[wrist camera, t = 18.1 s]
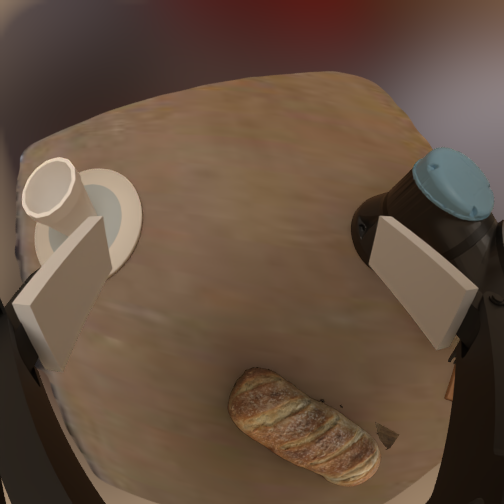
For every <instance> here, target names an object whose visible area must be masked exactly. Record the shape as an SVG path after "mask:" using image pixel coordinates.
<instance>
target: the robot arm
mask: <svg viewBox="0 0 504 504" xmlns="http://www.w3.org/2000/svg"><path fill="white" fill-rule="evenodd" d="M489 187H490V184H489V182H488V180H487V178H486V177H485V175H484V174H483V172H482V171H481V170H480V169H479V167H478V166H477V165H476V164H475V163H474V162H473V161H472V160H471V159H469V158H468V157H467V156H465V155H464V154H462V153H461V152H459V151H455V150H453V149H451V148H445V147H441V148H436V149H434V150H432V151H430V152H429V153H428V154H427V155H426V156H425V157H424V158H422V159H420V160H418V161H417V162H416V163H415V164H414V167H413V169H412V170H411V171H410V172H409V173H408V174H407V175H406V176H405V177H404V178H402V179H401V180H400V181H399V182H398V183H397V184H396V185H395V186H394V187H393V188H392V189H391V190H390V191H389V192H387V193H383V194H380V195H377V196H374V197H371V198H369V199H368V200H366V201H365V202H364V203H363V204H362V205H361V206H360V207H359V208H358V209H357V210H356V212H355V214H354V216H353V219H352V225H351V232H352V239H353V243H354V245H355V248H356V250H357V252H358V254H359V255H360V257H361V258H362V260H363V261H364V262H365V263H366V264H367V265H368V266H369V267H370V268H372V269H373V270H374V271H375V273H376V274H377V275H378V276H379V277H380V279H381V280H382V281H383V282H384V283H385V285H386V286H387V287H388V288H389V289H390V291H391V292H392V293H393V294H394V296H395V297H396V298H397V299H398V301H399V302H400V303H401V304H402V306H403V307H404V308H405V309H406V311H407V312H408V313H409V314H410V316H411V317H412V318H413V320H414V321H415V322H416V324H417V325H418V326H419V327H420V329H421V330H422V331H423V333H424V334H425V335H426V337H427V338H428V340H429V341H430V342H431V344H432V345H433V346H434V348H435V349H436V350H440V349H443V348H447V347H449V346H450V345H451V343H452V341H453V339H454V337H455V336H456V335H457V336H458V337H459V338H460V341H459V343H458V344H457V346H456V348H455V349H454V351H453V353H452V354H451V356H450V358H449V360H448V362H451V360H452V359H453V358H454V357H456V360H455V361H454V364H456V366H455V380H454V391H453V400H452V408H451V415H450V422H449V428H448V433H447V439H446V444H445V448H444V453H443V457H442V462H441V466H440V470H439V473H438V477H437V480H436V484H435V487H434V490H433V493H432V496H431V498H430V499H429V500H428V501H427V503H426V504H504V220H502V221H501V222H499V223H498V222H497V221H496V219H495V218H494V216H493V214H492V213H491V211H492V209H493V207H494V196H493V192H492V190H491V189H490V188H489ZM111 271H112V264H111V259H110V254H109V248H108V243H107V237H106V231H105V225H104V218H103V216H92V217H88V218H87V219H86V220H85V221H84V222H83V223H82V224H81V225H80V226H79V227H78V228H77V229H76V230H75V231H74V232H73V233H72V234H71V235H70V236H69V237H68V238H67V239H66V240H65V241H64V242H63V243H62V245H61V246H60V247H59V248H58V249H57V250H56V251H55V252H54V253H53V254H52V255H51V257H50V258H49V259H48V260H47V261H46V262H45V263H44V264H43V266H42V267H41V268H39V269H38V270H36V271H35V272H34V273H32V274H31V275H30V276H29V277H28V278H27V280H26V281H25V284H22V286H21V287H20V288H19V290H18V291H17V292H16V293H15V294H14V296H13V297H12V299H11V300H10V301H9V302H8V303H7V305H6V306H5V307H4V306H3V304H2V301H1V299H0V504H6V501H5V497H4V492H3V486H2V481H3V484H4V486H5V489H6V491H7V494H8V497H9V499H10V501H11V504H106V503H105V502H104V501H103V499H102V498H101V497H100V495H99V493H98V492H97V491H96V489H95V487H94V486H93V484H92V483H91V481H90V480H89V478H88V477H87V475H86V473H85V472H84V470H83V468H82V467H81V465H80V463H79V462H78V460H77V458H76V456H75V454H74V453H73V451H72V449H71V447H70V445H69V443H68V441H67V439H66V437H65V435H64V433H63V431H62V429H61V427H60V424H59V422H58V420H57V418H56V416H55V413H54V411H53V409H52V406H51V404H50V401H49V399H48V396H47V394H46V391H45V389H44V386H43V383H42V381H41V378H40V375H39V372H38V370H37V369H36V367H35V366H34V365H35V363H36V361H37V359H38V357H39V359H40V361H41V363H42V364H43V366H44V368H45V369H46V370H51V371H57V372H62V373H63V371H64V369H65V366H66V364H67V362H68V359H69V357H70V354H71V352H72V350H73V348H74V345H75V343H76V341H77V339H78V336H79V334H80V332H81V330H82V328H83V325H84V323H85V321H86V319H87V317H88V315H89V313H90V311H91V309H92V307H93V305H94V303H95V301H96V299H97V297H98V295H99V293H100V291H101V289H102V287H103V285H104V284H105V282H106V280H107V278H108V276H109V274H110V272H111ZM1 478H2V481H1Z"/></svg>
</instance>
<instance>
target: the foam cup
mask: <svg viewBox="0 0 504 504" xmlns="http://www.w3.org/2000/svg"><path fill="white" fill-rule="evenodd" d="M22 206H23V208H24V209H25V211H26V213H27V215H29V216H30V217H31V218H32V219H33V220H35V221H36V222H39V223H41V224H43V225H47V226H49V227H51V228H53V229H55V230H56V231H58V232H60V233H62V234H64V235H66V236H68V237H69V236H70V235H71V234H72V233H73V232H74V231H75V230H76V229H77V228H78V227H79V226H80V225H81V224H82V223H83V222H84V221H85V220H86V219H87V218H88V217H92V216H97V213H96V211H95V209H94V207H93V204H92V202H91V200H90V198H89V196H88V194H87V192H86V190H85V188H84V185H83V183H82V181H81V176H80V174H79V173H78V171H77V170H76V168H75V167H74V166H73V165H72V163H71V162H70V161H69V159H64V158H60V157H58V158H54V159H50V160H47V161H46V162H44V163H43V164H41V165H40V166H39V167H37V168H36V169H35V171H34V172H33V173H32V174H31V176H30V177H29V178H28V180H27V182H26V185H25V187H24V190H23V193H22Z"/></svg>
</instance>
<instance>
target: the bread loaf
mask: <svg viewBox="0 0 504 504" xmlns="http://www.w3.org/2000/svg"><path fill="white" fill-rule="evenodd" d="M249 384H250V386H249ZM321 401H322V402H324V400H323V399H322V400H321ZM322 402H319V401H316V400H314V399H312V398H310V397H308V396H307V395H306V394H304V393H303V392H301V391H300V390H299V389H298V388H297V387H296V386H295V385H293V384H291V383H290V382H289V381H286V380H285V379H284V378H282V377H281V376H280V375H278V374H277V373H275V372H274V371H272V370H269V369H264V368H258V367H256V368H254V367H253V368H251V369H249V370H245V372H244V374H243V375H242V376H241V377H240V378H239V379H238V380H237V382H236V383H235V386H234V388H233V390H232V392H231V395H230V398H229V402H228V411H229V414H230V416H231V419H232V420H233V421H234V423H235V424H236V425H237V427H238V428H240V429H241V431H243V432H244V433H245V434H247V435H248V436H250V437H251V438H252V439H254V440H255V441H258V442H259V443H261V444H263V445H264V446H266V447H267V448H269V449H270V450H271V451H272V452H274V453H275V454H277V455H279V456H280V457H282V458H284V459H286V460H288V461H289V462H291V463H293V464H295V465H297V466H301V467H304V468H306V469H308V470H312V471H313V472H315V473H317V474H320V475H322V476H323V477H324V478H325V479H326V480H327V481H329V482H331V483H334V484H336V485H341V486H356V485H359V484H360V483H363V482H365V481H366V480H368V479H369V478H370V477H371V476H373V474H374V473H375V472H376V471H377V469H378V467H379V465H380V460H381V454H380V451H379V449H378V446H377V443H376V441H375V439H374V438H373V437H372V436H371V435H369V434H368V433H367V432H366V431H365V430H363V429H361V428H360V427H359V426H358V425H357V424H356V423H355V424H354V423H353V422H351V421H350V419H347V418H346V417H345V416H343V415H342V414H341V413H339V412H338V411H337V410H336V409H334V408H332V407H330V406H328V405H326V404H324V403H322ZM340 407H342V406H341V405H340ZM342 408H343V407H342ZM282 412H283V413H282ZM335 419H336V420H335ZM336 424H337V425H336ZM375 424H376V427H377V432H378V433H377V434H378V435H379V438H380V440H381V442H382V443H383V444H384V445H385V447H387V449H390V447H391V446H392V445H393V443H394V442H395V440H396V439H397V437H398V436H399V434H397V433H395V432H393V431H391V430H389V429H388V428H386V427H384V426H382V425H380V424H378V423H377V422H375ZM350 430H351V431H350ZM387 449H386V450H387Z"/></svg>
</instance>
